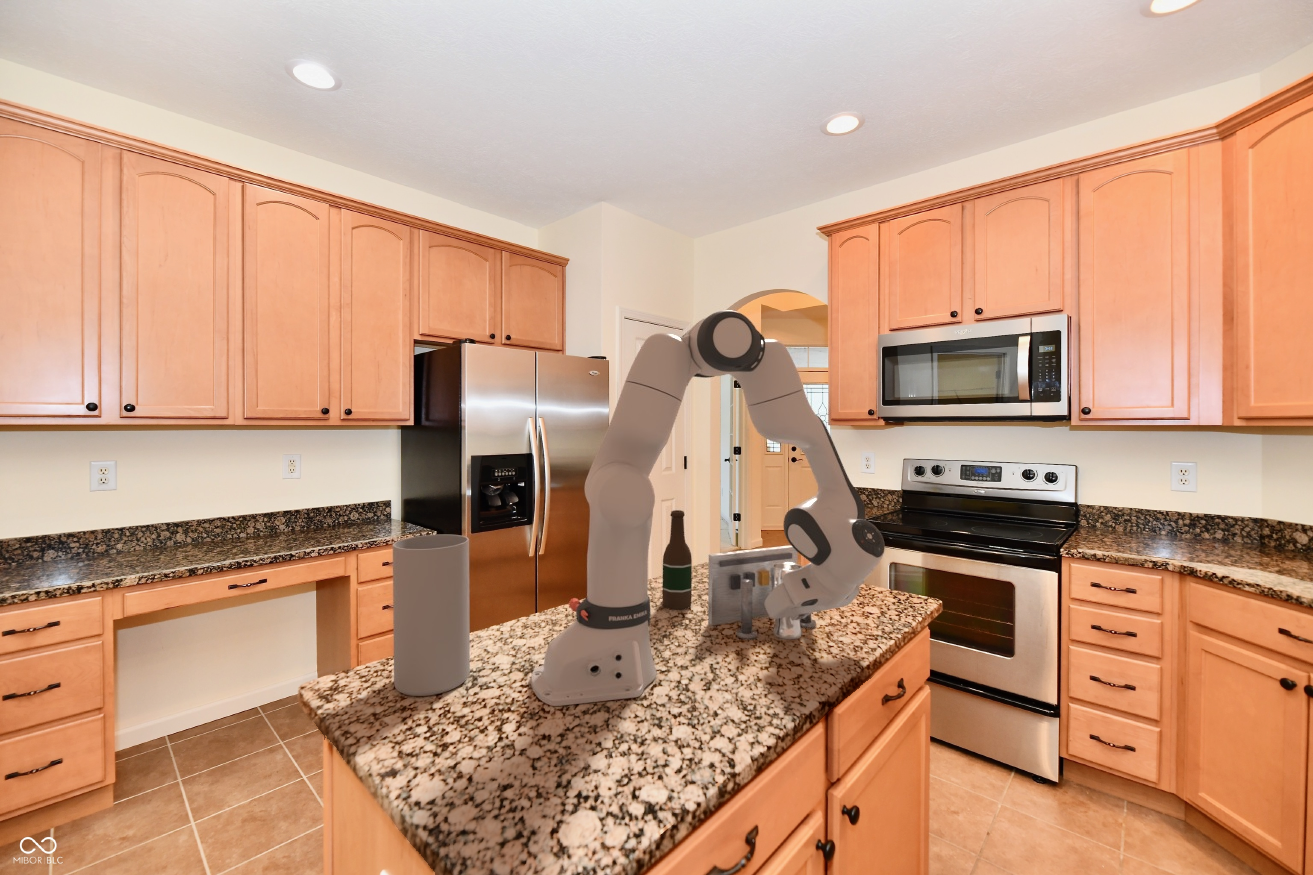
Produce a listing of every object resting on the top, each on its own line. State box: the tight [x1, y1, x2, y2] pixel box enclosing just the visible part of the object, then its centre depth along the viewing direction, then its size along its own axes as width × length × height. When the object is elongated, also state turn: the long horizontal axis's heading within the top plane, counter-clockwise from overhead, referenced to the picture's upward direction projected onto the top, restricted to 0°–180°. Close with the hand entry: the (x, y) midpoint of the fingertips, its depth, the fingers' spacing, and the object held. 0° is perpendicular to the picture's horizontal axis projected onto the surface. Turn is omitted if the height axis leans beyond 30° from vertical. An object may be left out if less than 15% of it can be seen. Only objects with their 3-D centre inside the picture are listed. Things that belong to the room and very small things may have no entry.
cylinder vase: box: [392, 534, 471, 697], centre depth 98 cm, size 12×12×25 cm
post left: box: [736, 579, 758, 641], centre depth 119 cm, size 4×4×12 cm
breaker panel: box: [707, 545, 799, 627], centre depth 130 cm, size 24×3×16 cm, turn 114°
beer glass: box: [771, 562, 804, 640], centre depth 120 cm, size 7×7×15 cm
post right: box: [800, 613, 817, 629], centre depth 126 cm, size 4×4×12 cm
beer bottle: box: [662, 509, 693, 611], centre depth 139 cm, size 8×8×24 cm
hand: (796, 616), depth 117 cm, fingers closed, pressing on beer glass
